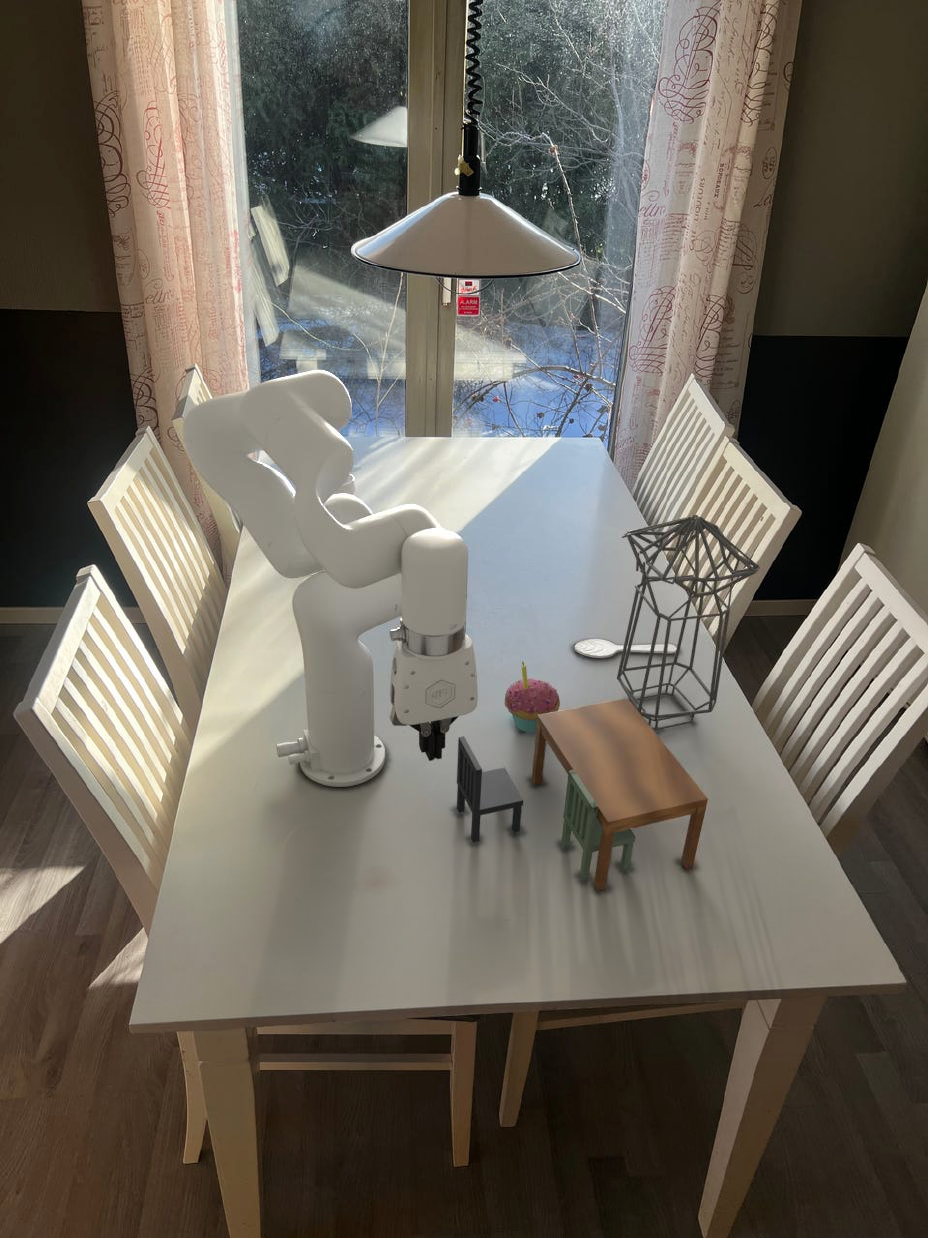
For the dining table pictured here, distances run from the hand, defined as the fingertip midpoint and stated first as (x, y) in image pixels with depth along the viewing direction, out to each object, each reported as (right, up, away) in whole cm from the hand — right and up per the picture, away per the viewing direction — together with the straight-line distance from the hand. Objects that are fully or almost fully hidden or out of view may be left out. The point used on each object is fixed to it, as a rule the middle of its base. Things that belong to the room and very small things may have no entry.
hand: (431, 753), depth 126 cm
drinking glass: (-21, +32, +76) cm, 85 cm away
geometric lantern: (+36, +2, +32) cm, 48 cm away
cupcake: (+14, +1, +29) cm, 33 cm away
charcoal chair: (+7, -11, +10) cm, 17 cm away
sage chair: (+21, -15, +5) cm, 26 cm away
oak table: (+24, -11, +11) cm, 29 cm away
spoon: (+32, +12, +47) cm, 59 cm away
